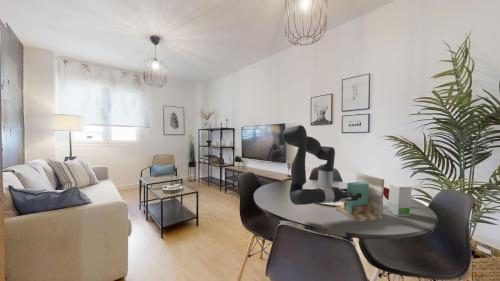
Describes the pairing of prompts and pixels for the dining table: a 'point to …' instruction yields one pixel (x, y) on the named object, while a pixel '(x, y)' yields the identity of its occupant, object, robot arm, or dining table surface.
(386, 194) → the white red flat box
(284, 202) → the dining table surface
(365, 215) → the book rack
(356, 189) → the book
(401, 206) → the skincare box
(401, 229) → the dining table surface
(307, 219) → the dining table surface
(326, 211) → the dining table surface
